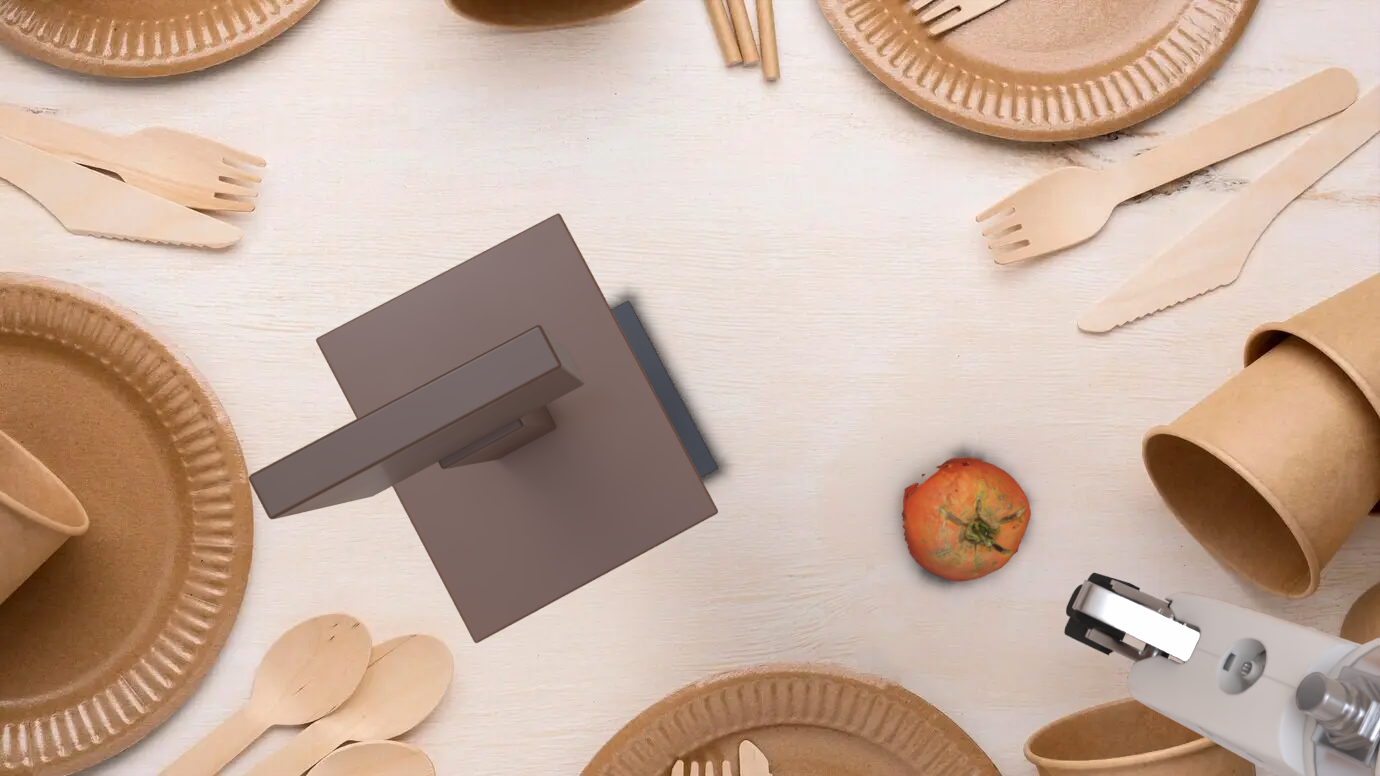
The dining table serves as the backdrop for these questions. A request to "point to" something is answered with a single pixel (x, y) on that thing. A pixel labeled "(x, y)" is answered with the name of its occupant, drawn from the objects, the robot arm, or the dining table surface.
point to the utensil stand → (507, 429)
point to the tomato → (965, 519)
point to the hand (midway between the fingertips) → (1174, 651)
